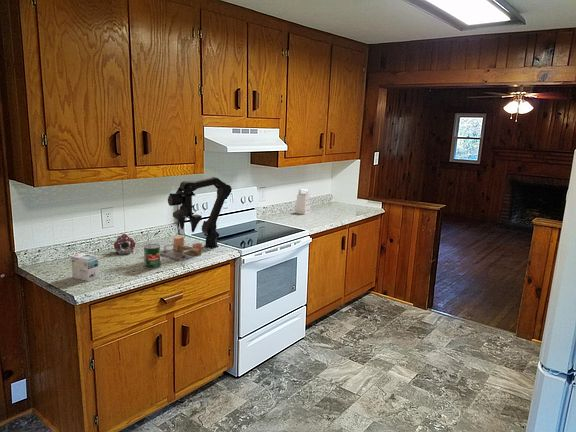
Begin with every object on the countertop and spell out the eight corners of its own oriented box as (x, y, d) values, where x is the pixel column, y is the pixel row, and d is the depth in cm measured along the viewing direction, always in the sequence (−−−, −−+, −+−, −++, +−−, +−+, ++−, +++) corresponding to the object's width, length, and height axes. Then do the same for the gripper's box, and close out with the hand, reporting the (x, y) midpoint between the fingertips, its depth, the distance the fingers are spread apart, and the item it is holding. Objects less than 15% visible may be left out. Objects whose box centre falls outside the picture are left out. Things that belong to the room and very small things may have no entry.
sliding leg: (180, 247, 257) (180, 236, 256) (183, 248, 256) (183, 237, 254) (162, 252, 247) (162, 240, 245) (166, 253, 245) (166, 241, 244)
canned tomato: (154, 263, 229) (153, 243, 227) (163, 266, 225) (163, 245, 222) (141, 266, 223) (140, 246, 220) (151, 270, 218) (150, 249, 216)
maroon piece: (114, 252, 236) (113, 232, 241) (114, 259, 245) (112, 240, 250) (136, 251, 241) (134, 231, 245) (135, 258, 250) (133, 238, 255)
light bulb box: (100, 277, 206) (99, 255, 204) (88, 281, 200) (87, 259, 198) (83, 273, 210) (82, 252, 208) (71, 277, 204) (70, 255, 202)
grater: (300, 210, 382) (301, 188, 378) (310, 212, 377) (311, 189, 373) (294, 212, 373) (295, 189, 369) (305, 214, 368) (306, 190, 364)
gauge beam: (178, 247, 258) (178, 237, 257) (202, 254, 247) (202, 243, 246) (160, 252, 248) (160, 241, 247) (185, 259, 237) (185, 248, 235)
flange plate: (167, 250, 251) (167, 249, 251) (191, 258, 240) (191, 256, 240) (155, 253, 245) (155, 252, 245) (180, 261, 234) (180, 259, 234)
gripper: (164, 203, 246) (165, 230, 250) (186, 208, 235) (187, 236, 239) (180, 201, 255) (181, 227, 258) (202, 205, 244) (202, 232, 247)
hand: (187, 230), depth 250 cm, fingers open, 9 cm apart
